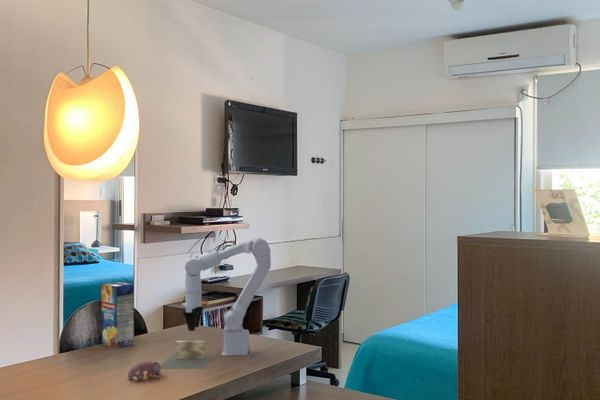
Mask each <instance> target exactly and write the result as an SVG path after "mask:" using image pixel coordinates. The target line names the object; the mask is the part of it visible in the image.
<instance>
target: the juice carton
mask: <svg viewBox="0 0 600 400" xmlns="http://www.w3.org/2000/svg"><path fill="white" fill-rule="evenodd" d="M100 287H101V344H102V345H105V344H107V345H106V346H108V345H110V346H109V347H111V346H113V347H112V348H114V347H116V348H115V349H120V348H119V347H121V348H125V347H124V346H126V347H129V346H134V345H135V318H134V317H135V315H134V314H135V307H134V306H135V305H134V304H135V303H134V302H135V301H134V300H135V299H134V298H135V297H134V296H135V295H134V294H135V292H134V289H135V287H134V284H133V283H127V282H122V281H115V282H105V283H104V282H103V283H101V285H100Z"/></svg>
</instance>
